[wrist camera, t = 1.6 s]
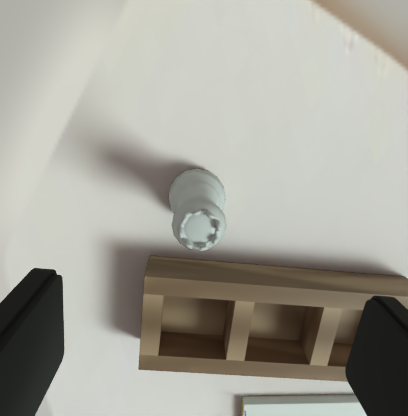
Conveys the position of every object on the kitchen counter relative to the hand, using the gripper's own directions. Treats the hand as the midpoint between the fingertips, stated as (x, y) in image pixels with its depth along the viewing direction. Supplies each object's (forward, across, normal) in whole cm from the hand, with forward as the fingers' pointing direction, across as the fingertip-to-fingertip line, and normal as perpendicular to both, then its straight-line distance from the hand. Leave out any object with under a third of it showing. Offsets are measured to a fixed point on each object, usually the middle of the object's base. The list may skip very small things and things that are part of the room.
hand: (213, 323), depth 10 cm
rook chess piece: (+17, 0, +1) cm, 17 cm away
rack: (+17, -8, +11) cm, 21 cm away
